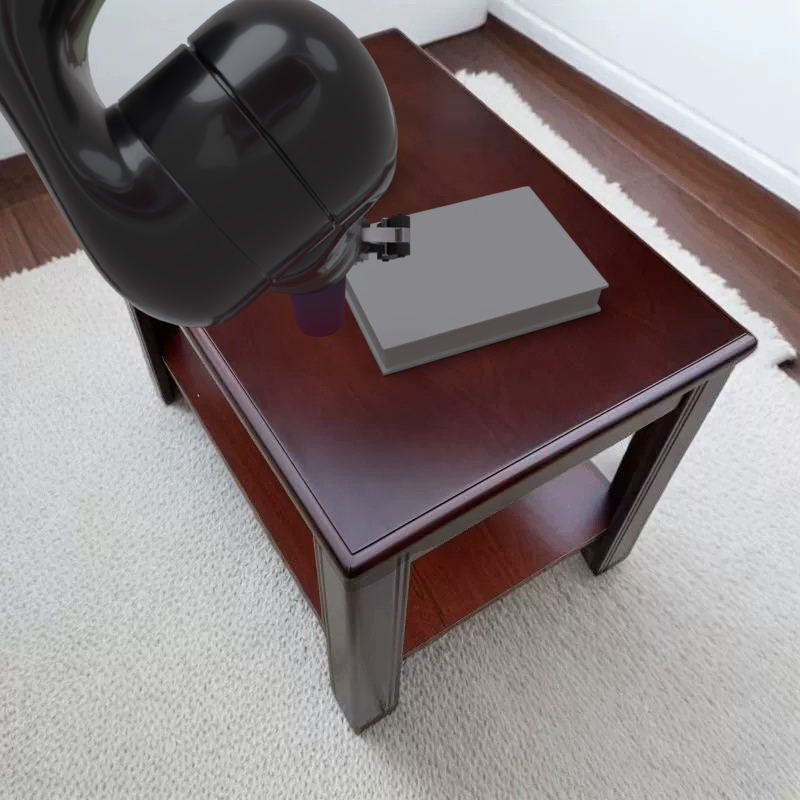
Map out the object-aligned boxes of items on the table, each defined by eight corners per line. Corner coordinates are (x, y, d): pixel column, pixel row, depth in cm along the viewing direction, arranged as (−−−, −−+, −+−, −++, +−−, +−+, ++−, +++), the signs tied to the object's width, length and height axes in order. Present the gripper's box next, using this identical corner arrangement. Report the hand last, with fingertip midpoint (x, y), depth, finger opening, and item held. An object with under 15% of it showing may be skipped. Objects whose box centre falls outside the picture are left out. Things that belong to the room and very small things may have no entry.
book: (609, 284, 73) (383, 349, 67) (600, 311, 76) (383, 376, 70) (523, 179, 83) (321, 228, 77) (519, 207, 86) (324, 255, 80)
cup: (310, 354, 57) (297, 233, 48) (273, 314, 60) (253, 191, 50) (366, 324, 59) (364, 202, 50) (328, 286, 62) (319, 164, 52)
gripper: (424, 151, 39) (408, 197, 56) (152, 151, 39) (219, 197, 55) (424, 293, 40) (409, 296, 57) (159, 294, 40) (223, 297, 56)
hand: (315, 247), depth 56 cm, fingers closed on cup, 5 cm apart
